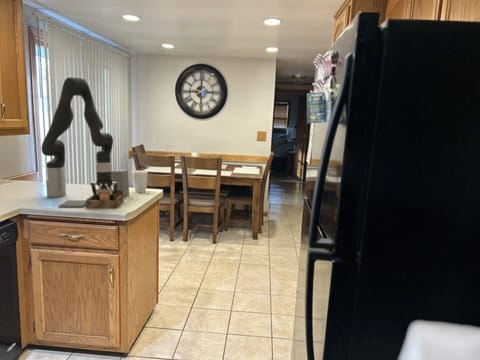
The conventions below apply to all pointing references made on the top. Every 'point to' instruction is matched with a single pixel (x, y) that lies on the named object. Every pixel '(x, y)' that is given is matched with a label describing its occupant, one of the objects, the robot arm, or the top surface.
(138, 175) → the foam cup
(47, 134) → the robot arm
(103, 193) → the flowerpot
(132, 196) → the top surface
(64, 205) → the slate mat
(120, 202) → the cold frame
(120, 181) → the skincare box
